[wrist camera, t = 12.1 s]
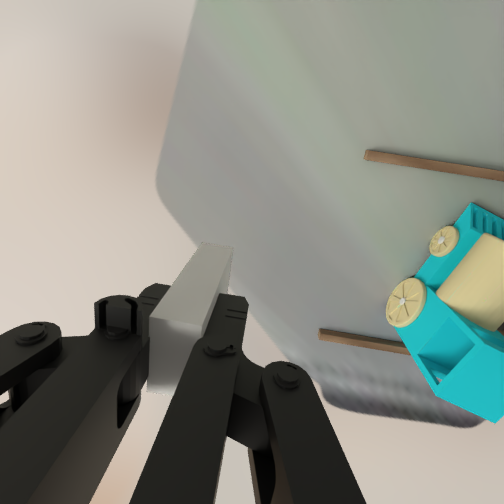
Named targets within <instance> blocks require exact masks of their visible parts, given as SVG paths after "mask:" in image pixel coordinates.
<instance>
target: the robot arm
mask: <svg viewBox="0 0 504 504" xmlns="http://www.w3.org/2000/svg"><path fill="white" fill-rule="evenodd" d="M232 255H233V247H227V246H221V245H215V244H209V243H203V242H202V244H201V245H200V246H199V248H198V249H197V251H196V252H195V253H194V255H193V256H192V258H191V259H190V260H189V262H188V263H187V265H186V266H185V267H184V269H183V270H182V272H181V273H180V274H179V276H178V277H177V279H176V280H175V281H174V283H173V284H172V286H169V285H163V284H158V283H155V284H153V285H151V286H149V287H147V288H145V289H144V290H143V291H142V292H141V294H140V295H139V297H137V298H135V297H131V296H126V295H116V296H109V297H105V298H102V299H100V300H99V301H97V302H95V303H94V309H95V310H94V311H95V329H94V330H93V331H92V332H91V333H90V334H89V335H88V336H72V337H62V336H61V330H60V327H59V326H57V325H56V324H54V323H49V322H32V323H28V324H24V325H21V326H19V327H16V328H13V329H11V330H9V331H7V332H5V333H3V334H2V335H0V395H2V394H3V393H5V392H6V391H7V390H8V393H9V400H7V401H6V402H4V403H2V404H0V504H89V503H90V501H91V499H92V497H93V495H94V493H95V491H96V489H97V487H98V485H99V483H100V481H101V479H102V477H103V476H104V473H105V472H106V470H107V468H108V466H109V464H110V462H111V460H112V458H113V456H114V454H115V452H116V450H117V448H118V446H119V444H120V442H121V440H122V438H123V437H124V435H125V433H126V431H127V429H128V427H129V424H130V423H131V421H132V419H133V417H134V415H135V413H136V411H137V409H138V407H139V404H140V400H141V389H142V387H143V385H144V383H145V382H146V380H147V392H150V393H156V394H162V395H168V396H173V398H172V400H171V403H170V405H169V408H168V410H167V412H166V415H165V417H164V420H163V422H162V424H161V427H160V429H159V432H158V434H157V437H156V439H155V442H154V444H153V446H152V449H151V451H150V454H149V456H148V459H147V461H146V463H145V466H144V469H143V471H142V473H141V476H140V478H139V481H138V483H137V485H136V488H135V490H134V493H133V495H132V498H131V500H130V503H129V504H215V499H216V493H217V488H218V482H219V476H220V470H221V465H222V459H223V453H224V447H225V442H226V437H227V436H228V437H230V438H232V439H233V440H235V441H237V442H239V443H241V444H243V445H245V446H246V447H248V456H249V463H250V470H251V476H252V483H253V489H254V496H255V503H256V504H366V502H365V499H364V497H363V495H362V493H361V490H360V488H359V486H358V484H357V481H356V479H355V477H354V474H353V472H352V470H351V468H350V466H349V463H348V461H347V459H346V457H345V454H344V452H343V450H342V447H341V445H340V443H339V441H338V438H337V436H336V434H335V432H334V429H333V427H332V425H331V423H330V420H329V418H328V416H327V414H326V411H325V409H324V407H323V405H322V402H321V400H320V398H319V396H318V393H317V391H316V389H315V387H314V384H313V382H312V380H311V378H310V376H309V375H308V374H307V372H306V371H305V370H303V369H302V368H301V367H299V366H298V365H295V364H293V363H290V362H284V361H278V362H272V363H270V364H268V365H267V366H266V367H265V368H263V367H261V366H259V365H256V364H255V363H253V362H251V361H250V360H249V359H248V358H247V357H246V356H245V355H244V353H243V351H242V343H243V336H244V330H245V324H246V318H247V312H248V306H249V304H248V302H247V301H246V299H245V297H241V296H235V295H229V294H227V291H228V285H229V277H230V270H231V262H232Z"/></svg>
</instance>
